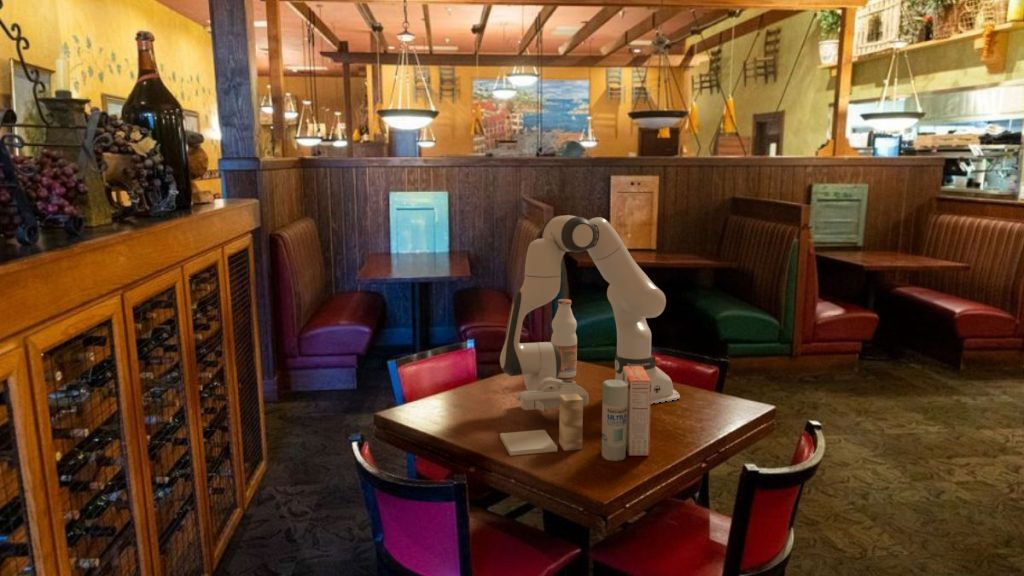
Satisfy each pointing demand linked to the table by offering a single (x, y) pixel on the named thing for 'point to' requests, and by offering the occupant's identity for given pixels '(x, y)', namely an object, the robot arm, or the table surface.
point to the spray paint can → (614, 419)
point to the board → (528, 442)
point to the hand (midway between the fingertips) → (561, 407)
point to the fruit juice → (565, 338)
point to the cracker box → (637, 410)
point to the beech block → (571, 422)
